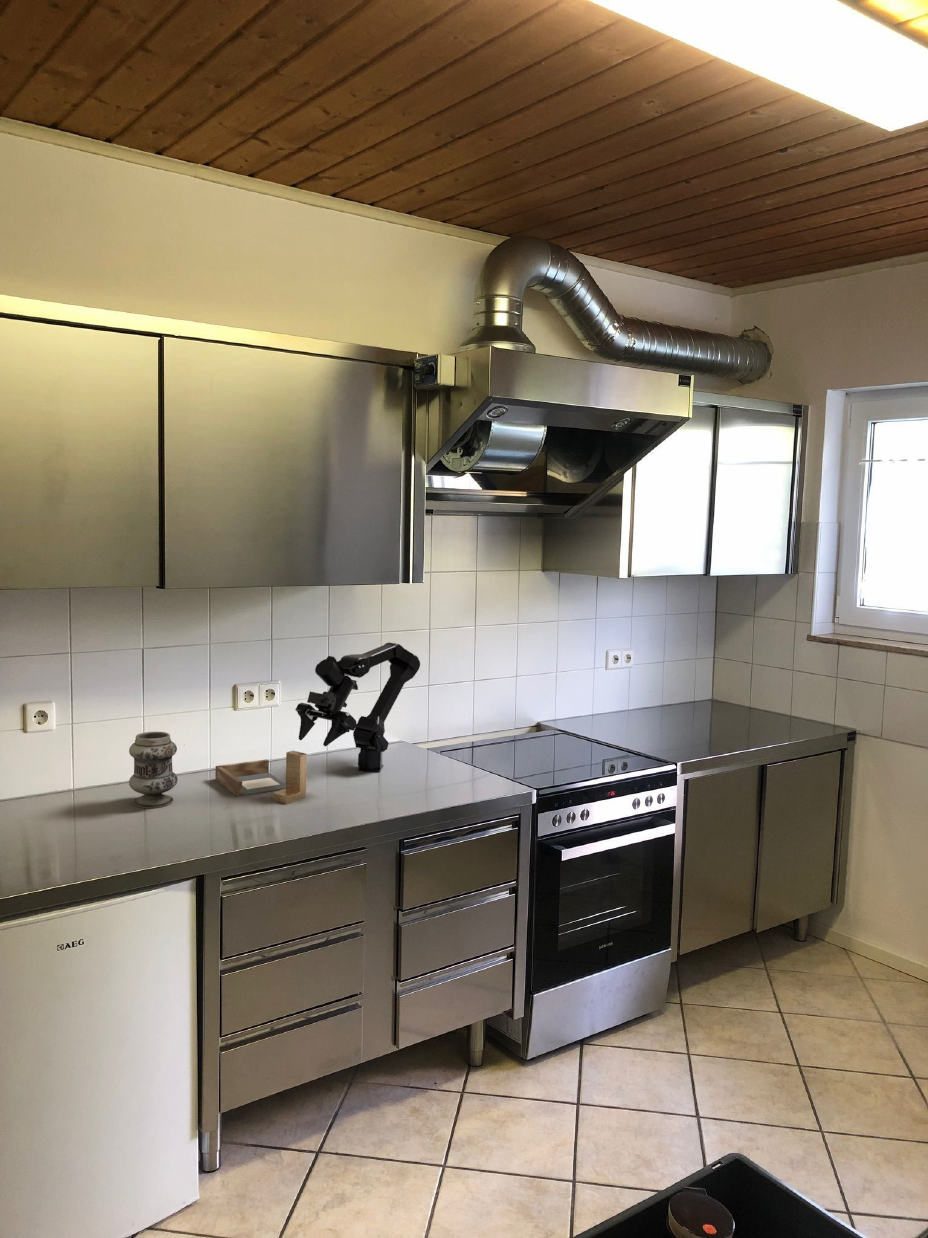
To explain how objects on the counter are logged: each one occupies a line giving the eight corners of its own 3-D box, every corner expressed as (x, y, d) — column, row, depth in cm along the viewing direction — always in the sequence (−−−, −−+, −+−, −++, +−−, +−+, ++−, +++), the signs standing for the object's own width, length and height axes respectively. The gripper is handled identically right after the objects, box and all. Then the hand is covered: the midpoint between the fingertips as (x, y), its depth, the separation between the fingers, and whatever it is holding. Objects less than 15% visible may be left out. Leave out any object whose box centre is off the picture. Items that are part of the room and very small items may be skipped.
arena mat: (268, 774, 278) (268, 772, 278) (291, 788, 266) (291, 786, 266) (222, 780, 271) (222, 778, 270) (242, 795, 258) (242, 794, 258)
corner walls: (266, 772, 280) (267, 759, 279) (291, 788, 266) (291, 774, 265) (215, 779, 271) (215, 766, 270) (237, 796, 257) (237, 782, 257)
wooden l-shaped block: (291, 793, 262) (292, 750, 260) (305, 797, 259) (306, 753, 258) (272, 800, 256) (273, 756, 254) (286, 804, 253) (287, 759, 251)
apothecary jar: (158, 792, 258) (158, 726, 256) (187, 801, 251) (187, 734, 249) (119, 802, 249) (118, 734, 246) (148, 813, 242) (148, 743, 239)
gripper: (298, 675, 271) (271, 722, 264) (348, 684, 261) (322, 734, 254) (318, 695, 279) (293, 742, 272) (368, 705, 269) (342, 754, 262)
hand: (311, 742), depth 265 cm, fingers open, 9 cm apart
